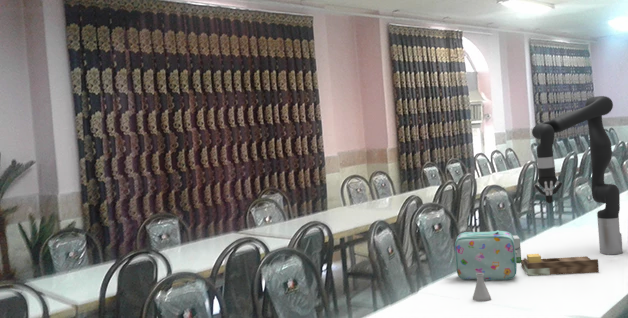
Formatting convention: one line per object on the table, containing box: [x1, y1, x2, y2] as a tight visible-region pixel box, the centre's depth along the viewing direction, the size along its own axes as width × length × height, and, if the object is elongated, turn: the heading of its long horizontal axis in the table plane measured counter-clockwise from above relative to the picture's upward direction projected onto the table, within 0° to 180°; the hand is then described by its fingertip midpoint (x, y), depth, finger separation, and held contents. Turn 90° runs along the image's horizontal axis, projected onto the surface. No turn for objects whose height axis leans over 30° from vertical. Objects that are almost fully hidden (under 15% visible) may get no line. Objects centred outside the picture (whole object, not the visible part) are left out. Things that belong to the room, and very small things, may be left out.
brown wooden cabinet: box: [520, 256, 599, 277], centre depth 267 cm, size 29×17×6 cm, turn 80°
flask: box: [472, 273, 492, 302], centre depth 235 cm, size 7×7×10 cm
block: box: [526, 253, 542, 263], centre depth 264 cm, size 5×5×5 cm
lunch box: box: [454, 229, 519, 281], centre depth 263 cm, size 27×10×21 cm, turn 71°
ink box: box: [512, 234, 522, 264], centre depth 288 cm, size 9×5×12 cm, turn 168°
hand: (549, 203), depth 280 cm, fingers closed
